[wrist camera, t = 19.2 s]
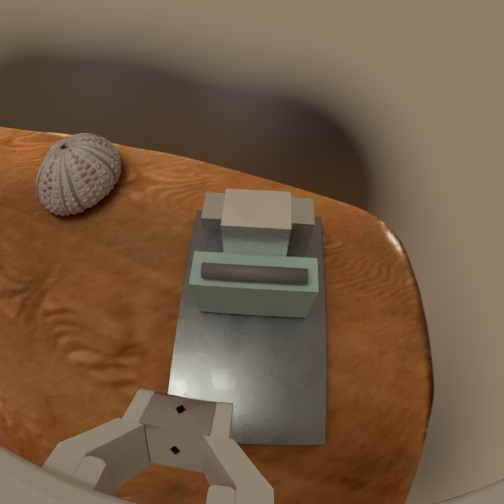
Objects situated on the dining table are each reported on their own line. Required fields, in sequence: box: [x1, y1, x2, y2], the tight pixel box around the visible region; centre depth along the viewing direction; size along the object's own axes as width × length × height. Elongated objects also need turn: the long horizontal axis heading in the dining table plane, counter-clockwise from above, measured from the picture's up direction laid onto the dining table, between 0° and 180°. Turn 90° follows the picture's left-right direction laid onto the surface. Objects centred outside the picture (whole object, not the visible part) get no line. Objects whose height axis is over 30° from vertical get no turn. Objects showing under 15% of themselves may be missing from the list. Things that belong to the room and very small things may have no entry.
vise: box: [168, 193, 327, 445], centre depth 28 cm, size 24×14×8 cm, turn 177°
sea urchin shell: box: [35, 133, 121, 216], centre depth 37 cm, size 13×14×8 cm
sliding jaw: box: [189, 251, 319, 318], centre depth 27 cm, size 3×10×7 cm, turn 86°
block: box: [221, 189, 292, 256], centre depth 28 cm, size 4×5×10 cm
